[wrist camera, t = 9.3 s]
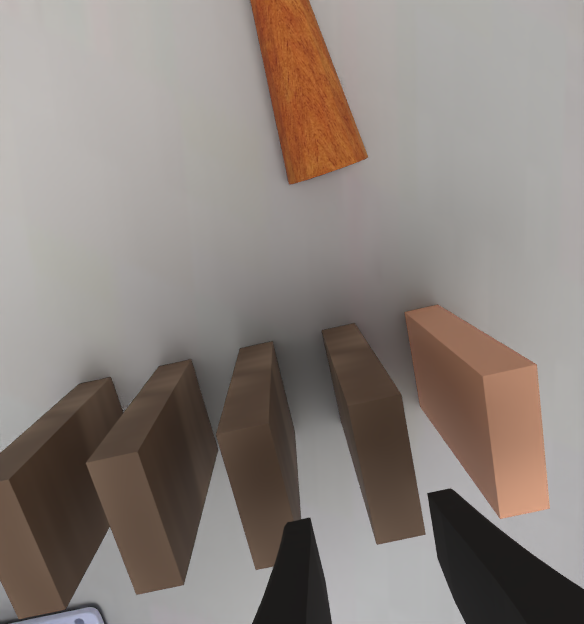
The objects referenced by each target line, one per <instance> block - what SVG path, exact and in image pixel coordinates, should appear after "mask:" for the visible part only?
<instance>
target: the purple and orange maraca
mask: <svg viewBox="0 0 584 624" xmlns="http://www.w3.org/2000/svg"><path fill="white" fill-rule="evenodd" d="M250 1H251V6H252V11H253V15H254V20H255V25H256V30H257V34H258V39H259V44H260V49H261V54H262V58H263V63H264V68H265V73H266V77H267V82H268V87H269V92H270V96H271V101H272V106H273V111H274V116H275V120H276V125H277V130H278V135H279V139H280V144H281V149H282V154H283V158H284V163H285V168H286V173H287V178H288V182H289V184H294V183H298V182H301V181H304V180H308V179H311V178H314V177H317V176H320V175H323V174H326V173H329V172H332V171H334V170H337V169H340V168H343V167H346V166H348V165H351V164H354V163H356V162H359V161H361V160H364V159H366V158H368V155H367V153H366V150H365V147H364V145H363V142H362V140H361V137H360V134H359V132H358V129H357V126H356V124H355V121H354V118H353V116H352V113H351V110H350V108H349V105H348V103H347V100H346V97H345V95H344V92H343V89H342V87H341V84H340V81H339V79H338V76H337V73H336V71H335V68H334V66H333V63H332V60H331V58H330V55H329V52H328V50H327V47H326V44H325V42H324V39H323V36H322V34H321V31H320V29H319V26H318V23H317V21H316V18H315V15H314V13H313V10H312V7H311V5H310V2H309V0H250Z"/></svg>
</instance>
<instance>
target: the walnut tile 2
mask: <svg viewBox="0 0 584 624" xmlns="http://www.w3.org/2000/svg"><path fill="white" fill-rule="evenodd" d="M217 452H218V448H217V444H216V441H215V438H214V434H213V431H212V428H211V424H210V421H209V417H208V414H207V411H206V407H205V404H204V401H203V397H202V394H201V390H200V387H199V384H198V380H197V377H196V374H195V370H194V367H193V363H192V360H191V359H190V360H185V361H181V362H176V363H172V364H167V365H163V366H159V367H158V368H157V370H156V371H155V372H154V374H153V375H152V376H151V377H150V379H149V380H148V381H147V383H146V384H145V385H144V387H143V388H142V389H141V391H140V392H139V393H138V395H137V396H136V397H135V399H134V400H133V401H132V402H131V404H130V405H129V406H128V408H127V409H126V410H125V412H124V413H123V414H122V416H121V417H120V418H119V420H118V421H117V422H116V424H115V425H114V426H113V428H112V429H111V430H110V431H109V433H108V434H107V435H106V437H105V438H104V439H103V441H102V442H101V443H100V445H99V446H98V447H97V449H96V450H95V451H94V453H93V454H92V455H91V457H90V458H89V459H88V460H87V462H86V465H87V468H88V470H89V473H90V475H91V478H92V481H93V483H94V486H95V488H96V491H97V494H98V496H99V499H100V501H101V504H102V507H103V509H104V512H105V514H106V517H107V520H108V522H109V525H110V527H111V530H112V533H113V535H114V538H115V540H116V543H117V546H118V548H119V551H120V553H121V556H122V559H123V561H124V564H125V566H126V569H127V572H128V574H129V577H130V579H131V582H132V585H133V587H134V590H135V592H136V595H138V594H143V593H148V592H152V591H157V590H162V589H167V588H172V587H177V586H181V585H184V582H185V578H186V575H187V571H188V567H189V563H190V559H191V555H192V551H193V547H194V543H195V539H196V535H197V531H198V527H199V523H200V519H201V515H202V511H203V507H204V504H205V500H206V496H207V492H208V488H209V484H210V480H211V476H212V472H213V468H214V464H215V460H216V456H217Z"/></svg>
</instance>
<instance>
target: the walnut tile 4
mask: <svg viewBox="0 0 584 624" xmlns="http://www.w3.org/2000/svg"><path fill="white" fill-rule="evenodd" d="M322 334H323V339H324V344H325V348H326V353H327V358H328V362H329V367H330V372H331V376H332V381H333V386H334V390H335V395H336V400H337V404H338V409H339V414H340V418H341V423H342V427H343V430H344V433H345V437H346V440H347V444H348V447H349V451H350V454H351V458H352V461H353V464H354V468H355V471H356V475H357V478H358V482H359V485H360V489H361V492H362V496H363V499H364V502H365V506H366V509H367V513H368V516H369V520H370V523H371V527H372V530H373V533H374V537H375V540H376V544H377V545H378V544H383V543H387V542H392V541H397V540H402V539H407V538H411V537H416V536H421V535H426V534H425V528H424V522H423V517H422V511H421V505H420V499H419V494H418V488H417V482H416V476H415V471H414V465H413V459H412V453H411V448H410V442H409V436H408V430H407V425H406V419H405V413H404V407H403V401H402V396H401V393H400V392H399V390H398V389H397V387H396V386H395V384H394V382H393V381H392V379H391V378H390V376H389V375H388V373H387V372H386V370H385V369H384V367H383V366H382V364H381V363H380V361H379V360H378V358H377V357H376V355H375V353H374V352H373V350H372V349H371V347H370V346H369V344H368V343H367V341H366V340H365V338H364V337H363V335H362V334H361V332H360V331H359V329H358V328H357V326H356V325H355V323H352V324H348V325H343V326H339V327H334V328H330V329H325V330H322Z"/></svg>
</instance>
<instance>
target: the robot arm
mask: <svg viewBox="0 0 584 624" xmlns="http://www.w3.org/2000/svg"><path fill="white" fill-rule="evenodd" d="M427 494H428V501H429V507H430V513H431V520H432V526H433V532H434V538H435V545H436V551H437V557H438V560H439V563H440V566H441V568H442V571H443V573H444V576H445V578H446V581H447V584H448V586H449V588H450V591H451V593H452V596H453V598H454V601H455V603H456V605H457V607H458V609H459V611H460V613H461V615H462V617H463V619H464V621H465V623H466V624H584V589H583V588H581V587H580V586H578V585H576V584H575V583H573V582H572V581H570V580H569V579H567V578H566V577H564V576H563V575H561V574H560V573H558V572H557V571H555V570H554V569H553V568H551V567H550V566H548V565H547V564H545V563H544V562H543V561H541V560H540V559H538V558H537V557H536V556H534V555H533V554H531V553H530V552H529V551H527V550H526V549H525V548H523V547H522V546H521V545H519V544H518V543H517V542H516V541H514V540H513V539H512V538H510V537H509V536H508V535H506V534H505V533H504V532H503V531H501V530H500V529H499V528H498V527H496V526H495V525H494V524H493V523H491V522H490V521H489V520H488V519H487V518H485V517H484V516H483V515H482V514H481V513H479V512H478V511H477V510H476V509H475V508H474V507H472V506H471V505H470V504H469V503H468V502H467V501H465V500H464V499H463V498H462V497H461V496H460V495H459V494H458V493H456V492H455V491H454V490H452V489H451V488H450V489H445V490H440V491H436V492H431V493H427ZM10 624H104V622H103V620H102V617H101V615H100V613H99V611H98V610H97V609H96V608H93V607H87V608H82V609H78V610H73V611H68V612H63V613H58V614H53V615H49V616H44V617H39V618H34V619H29V620H25V621H20V622H15V623H10ZM252 624H332V621H331V615H330V608H329V601H328V595H327V588H326V582H325V577H324V573H323V569H322V565H321V561H320V556H319V552H318V548H317V544H316V540H315V535H314V531H313V527H312V523H311V519H310V518H306V519H301V520H296V521H291V522H287V524H286V525H285V526H284V530H283V535H282V539H281V543H280V547H279V551H278V554H277V557H276V561H275V564H274V567H273V570H272V573H271V576H270V579H269V582H268V585H267V587H266V590H265V593H264V596H263V598H262V601H261V604H260V606H259V608H258V611H257V613H256V616H255V618H254V620H253V623H252Z"/></svg>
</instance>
